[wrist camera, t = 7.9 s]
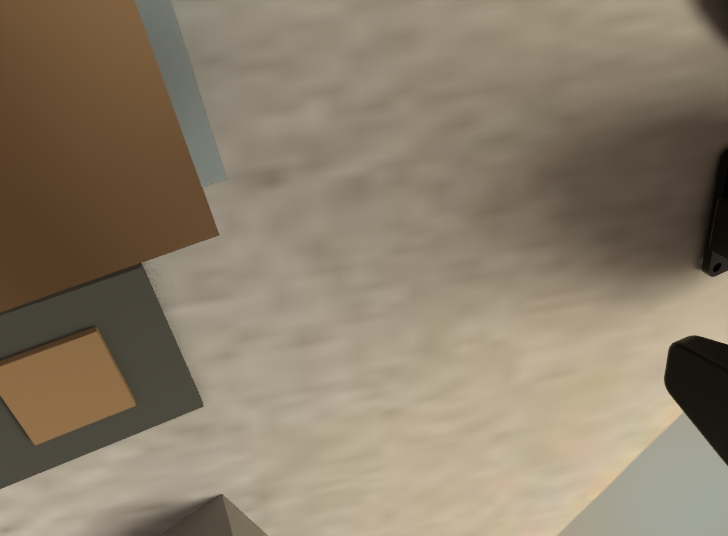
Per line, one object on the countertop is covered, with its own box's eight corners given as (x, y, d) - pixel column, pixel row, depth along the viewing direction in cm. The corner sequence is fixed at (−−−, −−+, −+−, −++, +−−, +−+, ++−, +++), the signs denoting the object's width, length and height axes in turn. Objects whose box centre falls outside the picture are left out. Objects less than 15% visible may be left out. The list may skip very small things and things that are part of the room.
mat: (141, 262, 19) (143, 271, 18) (202, 401, 22) (205, 412, 22) (-112, 348, 17) (-118, 361, 17) (-5, 484, 20) (-7, 498, 20)
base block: (108, -151, 14) (117, -165, 11) (202, 137, 18) (226, 179, 15) (-244, -88, 12) (-335, -87, 10) (-57, 214, 16) (-82, 278, 13)
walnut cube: (84, -106, 11) (94, -113, 7) (176, 143, 14) (219, 234, 10) (-218, -42, 10) (-398, -10, 6) (-53, 215, 13) (-107, 350, 9)
